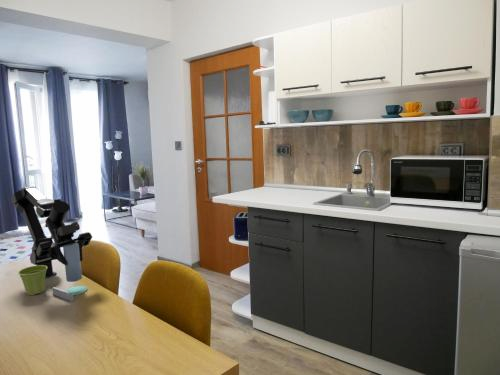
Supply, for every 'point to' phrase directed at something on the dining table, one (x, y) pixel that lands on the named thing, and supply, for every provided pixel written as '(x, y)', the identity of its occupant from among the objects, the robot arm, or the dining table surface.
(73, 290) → the coaster
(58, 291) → the acrylic wall
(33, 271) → the plant pot
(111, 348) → the dining table surface
